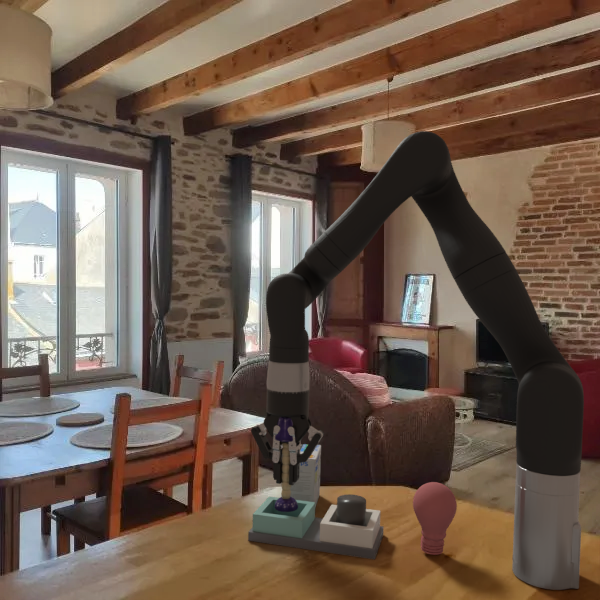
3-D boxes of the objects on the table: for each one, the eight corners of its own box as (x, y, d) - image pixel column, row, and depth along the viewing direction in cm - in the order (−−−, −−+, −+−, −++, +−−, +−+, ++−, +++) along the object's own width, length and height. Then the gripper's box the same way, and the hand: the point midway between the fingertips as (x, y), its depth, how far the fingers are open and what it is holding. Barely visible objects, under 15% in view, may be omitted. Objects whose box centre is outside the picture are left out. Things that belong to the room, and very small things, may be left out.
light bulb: (456, 566, 96) (458, 492, 96) (410, 561, 98) (413, 488, 97) (453, 547, 103) (456, 478, 103) (411, 542, 105) (413, 474, 104)
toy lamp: (305, 508, 107) (305, 415, 107) (287, 515, 104) (286, 419, 103) (286, 501, 111) (285, 411, 110) (267, 508, 107) (267, 415, 107)
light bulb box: (289, 492, 128) (290, 442, 127) (320, 494, 127) (321, 444, 127) (280, 511, 117) (281, 457, 117) (314, 514, 116) (316, 459, 116)
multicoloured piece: (383, 534, 108) (384, 493, 107) (374, 559, 98) (376, 514, 98) (266, 518, 114) (267, 479, 113) (248, 540, 104) (249, 497, 104)
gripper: (330, 385, 108) (328, 480, 109) (258, 380, 112) (256, 472, 113) (320, 393, 101) (318, 494, 102) (244, 387, 105) (242, 485, 105)
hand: (285, 482), depth 107 cm, fingers closed on toy lamp
